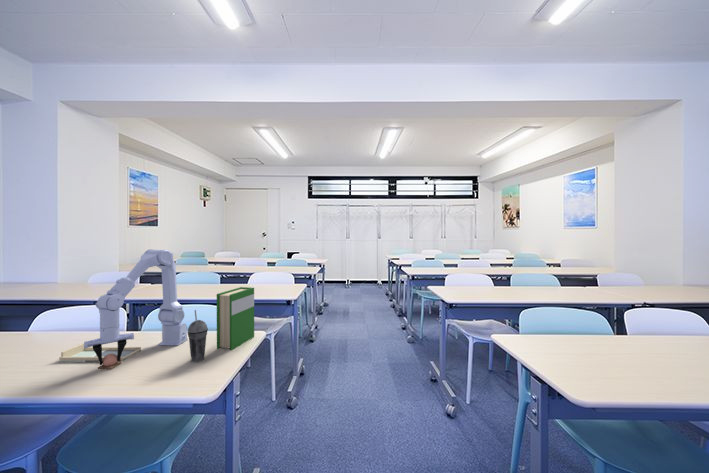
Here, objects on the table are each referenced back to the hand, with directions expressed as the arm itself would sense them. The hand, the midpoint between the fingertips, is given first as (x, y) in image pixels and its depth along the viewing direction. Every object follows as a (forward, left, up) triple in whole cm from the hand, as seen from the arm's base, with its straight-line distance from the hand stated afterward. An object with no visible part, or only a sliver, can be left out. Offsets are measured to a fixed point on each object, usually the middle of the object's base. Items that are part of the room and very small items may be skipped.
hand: (110, 362), depth 113 cm
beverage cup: (-30, -6, -2) cm, 31 cm away
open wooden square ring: (0, 0, -2) cm, 2 cm away
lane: (+11, -9, -2) cm, 15 cm away
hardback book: (-38, -25, -2) cm, 45 cm away
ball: (0, 0, +1) cm, 1 cm away
